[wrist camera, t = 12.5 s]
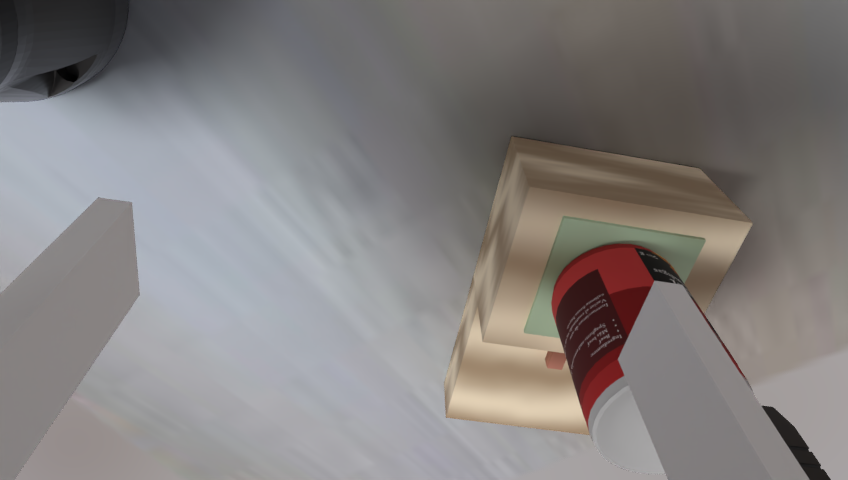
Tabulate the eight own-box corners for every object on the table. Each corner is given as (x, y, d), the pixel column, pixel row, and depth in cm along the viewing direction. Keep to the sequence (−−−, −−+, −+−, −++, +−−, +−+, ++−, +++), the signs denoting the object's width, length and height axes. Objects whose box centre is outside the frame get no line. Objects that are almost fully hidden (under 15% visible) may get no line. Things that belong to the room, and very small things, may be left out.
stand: (592, 402, 55) (617, 479, 48) (444, 383, 53) (448, 460, 46) (699, 168, 43) (755, 225, 35) (511, 136, 41) (530, 189, 34)
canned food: (681, 316, 39) (764, 455, 30) (563, 348, 40) (607, 490, 31) (665, 222, 35) (755, 348, 26) (535, 261, 37) (575, 393, 27)
